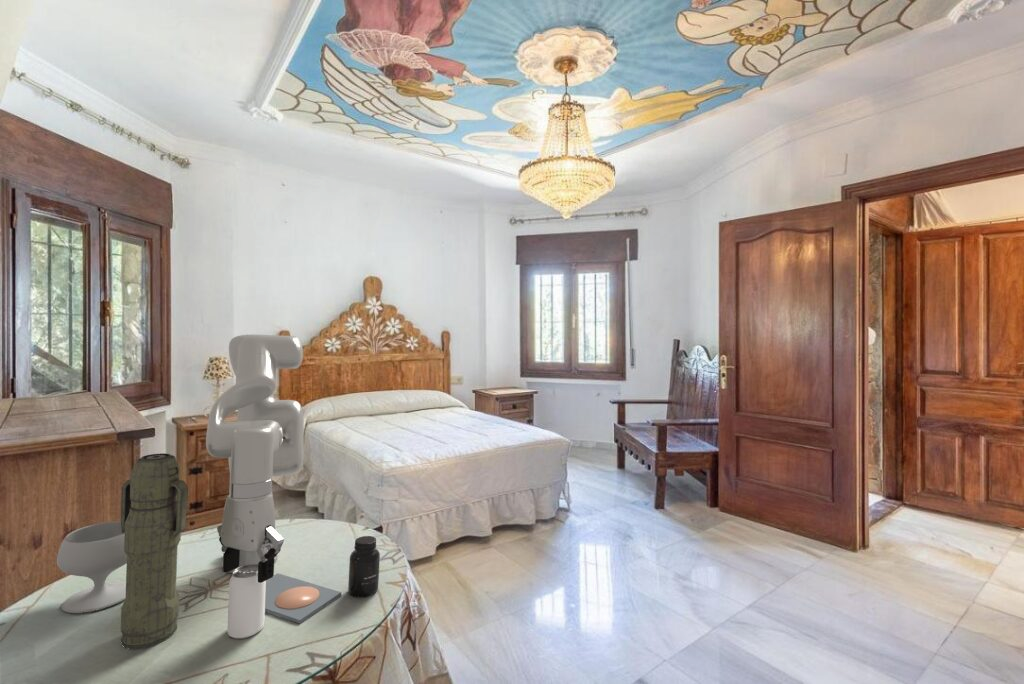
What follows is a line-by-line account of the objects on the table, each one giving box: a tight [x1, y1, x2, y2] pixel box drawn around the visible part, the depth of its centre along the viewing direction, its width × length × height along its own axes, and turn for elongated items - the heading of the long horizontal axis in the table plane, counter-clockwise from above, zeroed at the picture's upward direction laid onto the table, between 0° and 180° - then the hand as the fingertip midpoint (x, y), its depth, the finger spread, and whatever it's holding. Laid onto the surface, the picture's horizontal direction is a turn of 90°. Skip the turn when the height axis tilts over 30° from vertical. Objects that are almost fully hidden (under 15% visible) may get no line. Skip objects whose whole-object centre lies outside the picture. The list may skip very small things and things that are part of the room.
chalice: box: [56, 520, 127, 614], centre depth 103 cm, size 14×14×15 cm
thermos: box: [120, 453, 189, 650], centre depth 92 cm, size 9×12×35 cm
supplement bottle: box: [347, 535, 381, 598], centre depth 111 cm, size 7×7×12 cm
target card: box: [265, 572, 342, 625], centre depth 106 cm, size 20×12×1 cm, turn 68°
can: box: [227, 564, 266, 640], centre depth 95 cm, size 6×6×12 cm
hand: (248, 574), depth 94 cm, fingers open, 9 cm apart
